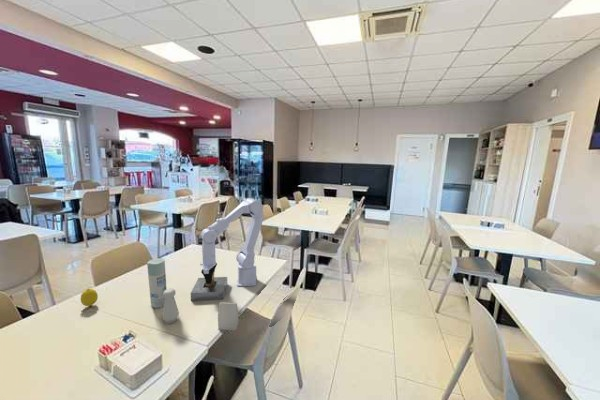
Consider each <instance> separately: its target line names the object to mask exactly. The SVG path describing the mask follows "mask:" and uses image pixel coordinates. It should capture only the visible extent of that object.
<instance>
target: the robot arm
mask: <svg viewBox="0 0 600 400" xmlns="http://www.w3.org/2000/svg"><path fill="white" fill-rule="evenodd" d="M242 214H250V216H251V217H252V219H251V222H250V224H249V228H248V231H247V234H246V238H245V241H244V244H243V246H242V247H241V248H240V250H239V252H238V253H237V255H236V256H235V257H236V261H237V263H238V265H237V271H238V272H237V273H238V274H237V276H238V278H237V283H236V286H237V287H247V286H248V287H251V286H253V287H254V286H257V280H258V276H257V265H255V257H256V254H255V246H256V243H257V241H258V237H259V234H260V231H261V227H262V225H263V222H264V218H265V214H264V205H263V204H262V202H261V201H260V200H256V199H255V198H252V197H246V198H245V199H244V200H242V201H241V202H240V203H239V204H238V205H237V207H235V208H234V209H232V211H231V212H229V213H228V214H227V215H226V216H225V217H220V218H216V219H215V221H214V223H212V224H211V225H208V226H207V228H204V229H203V230H202V231H201V233H200V234H199V236H200V238H201V239H202V240H201V241H202V242H201V243H202V245H201V248H202V249H201V250H202V253H201V254H202V261H201V262H200V264H199V265H200V266H202V268H203V269H201V274H202V276H203V278H205V281H206V284H211V282H212V276H213V272H214V273H215V271H216V268H217V265H218V263H217V262H216V261H217V260H216V240H217V239H218V236H219V235H221V234H222V233H223V232H224V231H225V230H227V229H228V228H230V227H229V226H230V223H232V222H233V221H234V220H236V219H237V218H239V217H240V216H241V215H242ZM211 269H213V270H211Z"/></svg>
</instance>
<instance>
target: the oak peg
mask: <svg viewBox="0 0 600 400" xmlns="http://www.w3.org/2000/svg"><path fill="white" fill-rule="evenodd" d="M211 270H213V269H211ZM214 277H215V272H213V276H212V282H211V284H206V286H207V287H212V286H214ZM205 283H206V281H205Z"/></svg>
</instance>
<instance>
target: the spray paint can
mask: <svg viewBox="0 0 600 400" xmlns="http://www.w3.org/2000/svg"><path fill="white" fill-rule="evenodd" d="M165 261H166V260H165V259H164V258H162V257H161V258H160V257H158V258H153V259H152V258H151V259H150V260H148V261H147V263H146V264H147V274H148V277H147V278H148V286H149V297H150V306H151V308H153V309H159V308H160V309H161V308H164V301H165V298H164V297H163V292H164V291H165V290H167V289H168V288H167V274H166V262H165Z"/></svg>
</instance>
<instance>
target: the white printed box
mask: <svg viewBox="0 0 600 400" xmlns="http://www.w3.org/2000/svg"><path fill="white" fill-rule="evenodd" d="M238 326H239V307H238V303H236V302H219V303H218V313H217V330H224V331H225V330H226V331H237V329H238Z"/></svg>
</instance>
